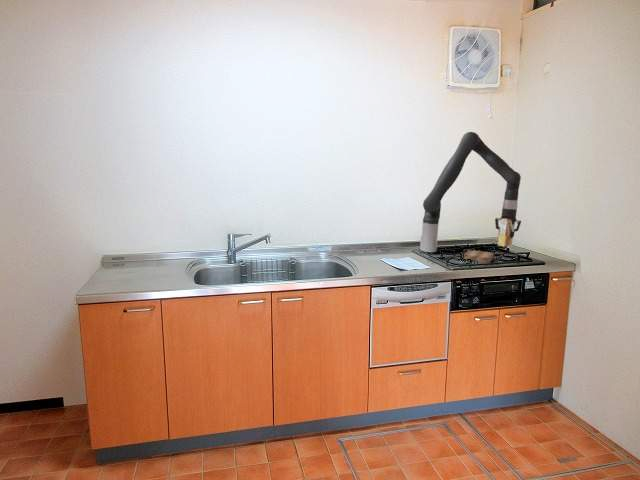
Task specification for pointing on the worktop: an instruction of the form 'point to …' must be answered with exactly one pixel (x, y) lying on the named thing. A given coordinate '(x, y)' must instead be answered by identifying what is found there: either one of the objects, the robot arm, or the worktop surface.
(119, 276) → the worktop surface
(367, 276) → the worktop surface
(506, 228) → the candy box
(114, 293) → the worktop surface
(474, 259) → the walnut base
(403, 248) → the worktop surface
